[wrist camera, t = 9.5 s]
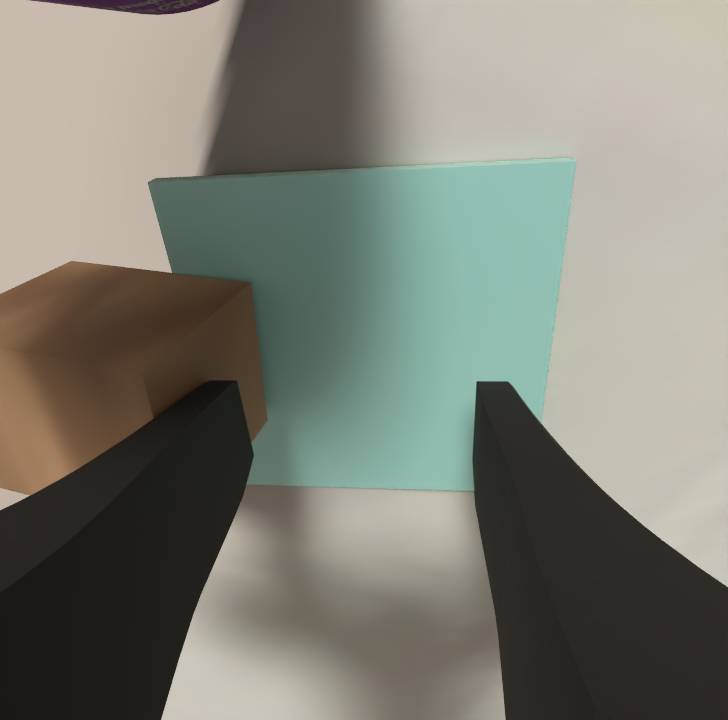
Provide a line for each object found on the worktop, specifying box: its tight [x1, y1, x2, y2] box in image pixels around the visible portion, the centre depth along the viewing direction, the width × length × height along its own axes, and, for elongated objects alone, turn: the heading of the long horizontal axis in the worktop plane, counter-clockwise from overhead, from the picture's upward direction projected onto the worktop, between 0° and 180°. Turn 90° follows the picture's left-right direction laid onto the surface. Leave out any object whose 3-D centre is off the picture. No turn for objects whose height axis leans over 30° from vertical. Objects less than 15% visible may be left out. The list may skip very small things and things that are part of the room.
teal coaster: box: [148, 157, 576, 491], centre depth 13 cm, size 9×9×1 cm
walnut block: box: [0, 261, 268, 495], centre depth 12 cm, size 4×4×5 cm
